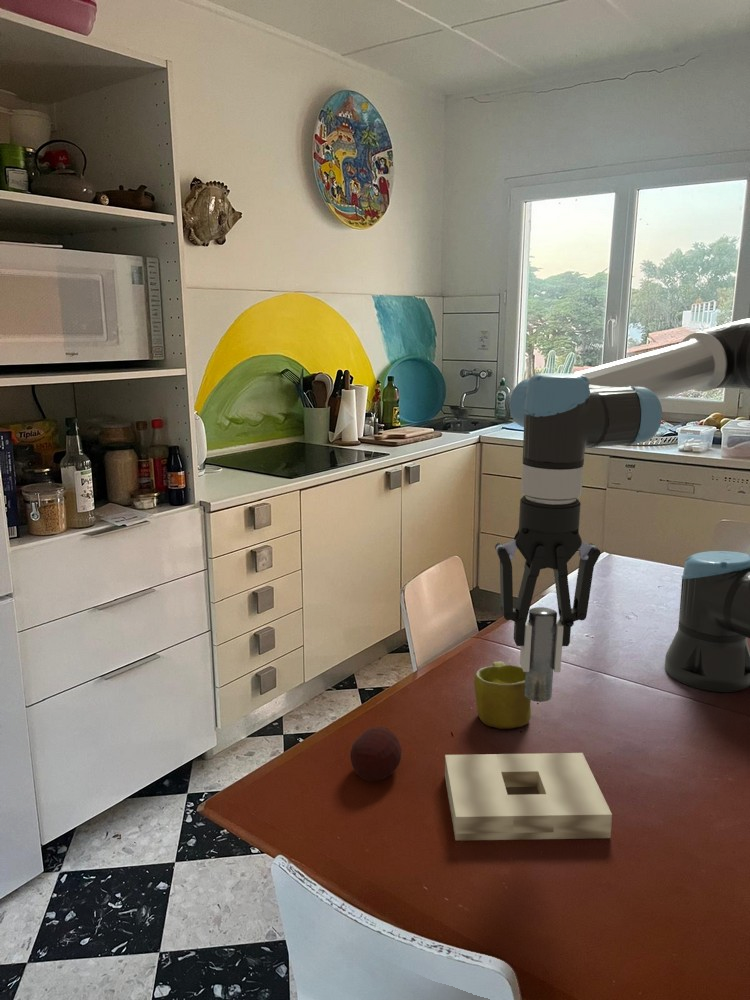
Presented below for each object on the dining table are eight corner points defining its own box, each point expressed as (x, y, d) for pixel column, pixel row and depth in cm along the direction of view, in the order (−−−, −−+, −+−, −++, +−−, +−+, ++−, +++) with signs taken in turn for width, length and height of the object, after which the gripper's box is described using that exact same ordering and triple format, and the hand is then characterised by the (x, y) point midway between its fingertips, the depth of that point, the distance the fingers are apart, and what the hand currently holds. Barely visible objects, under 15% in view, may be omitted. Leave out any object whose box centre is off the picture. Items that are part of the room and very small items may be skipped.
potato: (341, 785, 111) (340, 747, 109) (366, 748, 120) (365, 712, 118) (389, 795, 108) (388, 756, 107) (410, 757, 117) (410, 720, 116)
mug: (542, 729, 121) (524, 668, 121) (479, 741, 123) (462, 681, 124) (545, 706, 133) (529, 650, 133) (488, 717, 135) (473, 662, 136)
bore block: (581, 774, 112) (582, 752, 112) (610, 838, 99) (612, 814, 98) (444, 776, 112) (445, 754, 111) (455, 840, 99) (455, 816, 98)
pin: (547, 688, 106) (553, 607, 103) (554, 701, 102) (560, 617, 99) (521, 689, 106) (526, 607, 103) (527, 701, 102) (532, 617, 99)
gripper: (606, 490, 101) (593, 655, 106) (481, 490, 101) (474, 654, 106) (624, 504, 94) (609, 680, 99) (489, 503, 94) (482, 679, 99)
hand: (539, 666), depth 103 cm, fingers closed on pin, 3 cm apart
